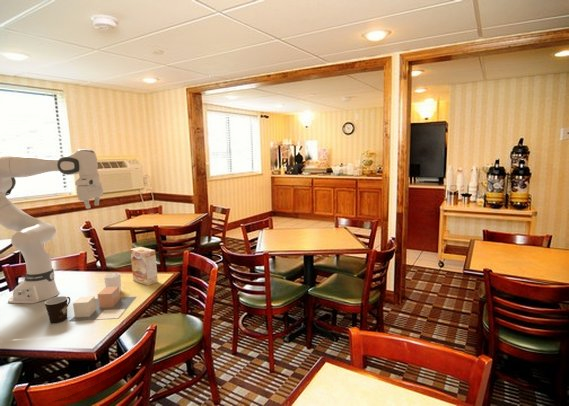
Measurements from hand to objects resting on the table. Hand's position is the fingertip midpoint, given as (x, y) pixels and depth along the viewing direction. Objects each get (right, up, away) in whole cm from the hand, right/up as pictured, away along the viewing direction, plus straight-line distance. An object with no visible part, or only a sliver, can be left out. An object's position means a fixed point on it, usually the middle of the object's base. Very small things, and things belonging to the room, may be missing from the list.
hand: (92, 206), depth 180 cm
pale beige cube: (+6, -51, -17) cm, 54 cm away
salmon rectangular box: (+12, -49, -7) cm, 51 cm away
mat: (+13, -50, -12) cm, 53 cm away
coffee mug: (-2, -52, -21) cm, 56 cm away
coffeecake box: (+18, -45, +23) cm, 54 cm away
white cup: (+7, -47, +8) cm, 49 cm away
